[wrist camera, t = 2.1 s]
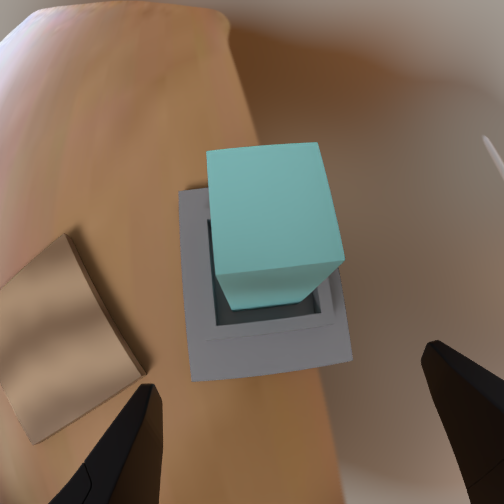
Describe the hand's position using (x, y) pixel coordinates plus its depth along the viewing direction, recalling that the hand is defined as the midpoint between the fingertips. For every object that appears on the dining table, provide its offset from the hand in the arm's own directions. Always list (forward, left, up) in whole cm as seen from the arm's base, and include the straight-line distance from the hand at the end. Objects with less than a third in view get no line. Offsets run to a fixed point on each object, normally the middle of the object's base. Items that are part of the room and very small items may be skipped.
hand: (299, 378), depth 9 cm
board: (+11, +14, -13) cm, 22 cm away
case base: (+5, -3, -13) cm, 14 cm away
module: (+5, -3, -12) cm, 13 cm away
